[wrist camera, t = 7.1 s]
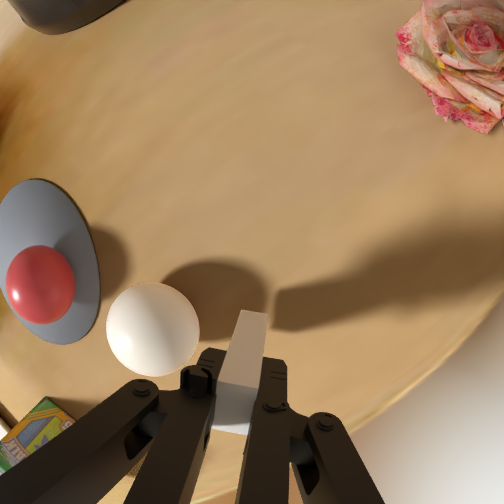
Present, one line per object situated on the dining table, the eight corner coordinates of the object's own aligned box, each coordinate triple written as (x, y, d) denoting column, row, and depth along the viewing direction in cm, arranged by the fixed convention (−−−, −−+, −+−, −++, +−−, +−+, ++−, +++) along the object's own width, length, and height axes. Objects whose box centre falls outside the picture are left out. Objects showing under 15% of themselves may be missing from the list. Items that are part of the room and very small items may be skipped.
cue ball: (215, 299, 14) (177, 261, 19) (104, 322, 11) (94, 275, 16) (217, 380, 16) (182, 332, 20) (128, 405, 13) (109, 349, 18)
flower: (498, 26, 10) (492, -40, 4) (554, 137, 10) (588, 103, 4) (399, 55, 17) (359, -1, 11) (444, 164, 16) (430, 140, 11)
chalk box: (101, 470, 25) (54, 549, 11) (43, 429, 25) (-14, 496, 11) (113, 442, 23) (51, 542, 9) (44, 392, 23) (-33, 471, 9)
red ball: (86, 241, 19) (29, 234, 18) (50, 263, 14) (-13, 251, 13) (88, 310, 20) (33, 299, 19) (59, 346, 15) (-1, 328, 14)
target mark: (-6, 177, 18) (-8, 177, 18) (103, 184, 17) (102, 184, 17) (3, 317, 21) (1, 318, 21) (106, 364, 20) (105, 365, 20)
